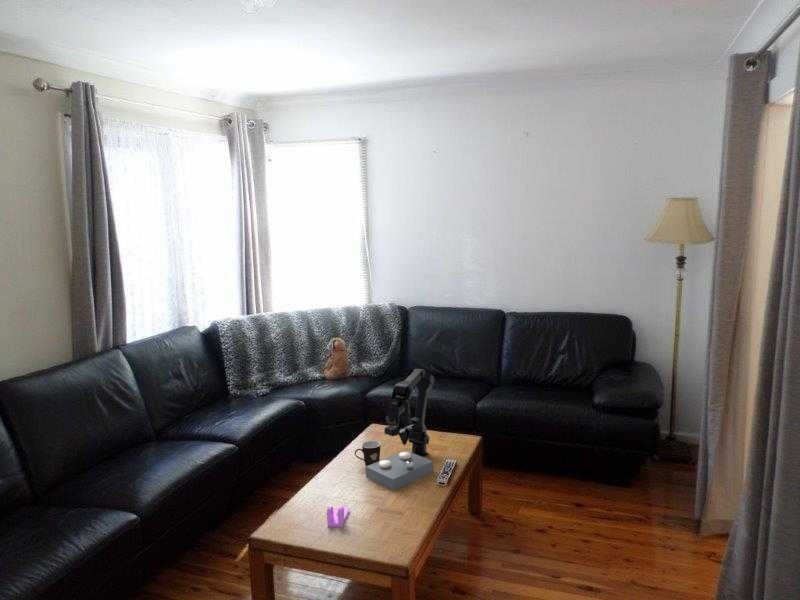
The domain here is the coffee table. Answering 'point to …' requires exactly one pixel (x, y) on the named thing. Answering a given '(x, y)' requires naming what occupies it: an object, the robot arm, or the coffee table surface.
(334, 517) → the bracket
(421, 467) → the console block
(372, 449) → the coffee mug
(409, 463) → the potentiometer
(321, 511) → the coffee table surface
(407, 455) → the knob
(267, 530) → the coffee table surface
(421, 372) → the robot arm
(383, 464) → the knob
